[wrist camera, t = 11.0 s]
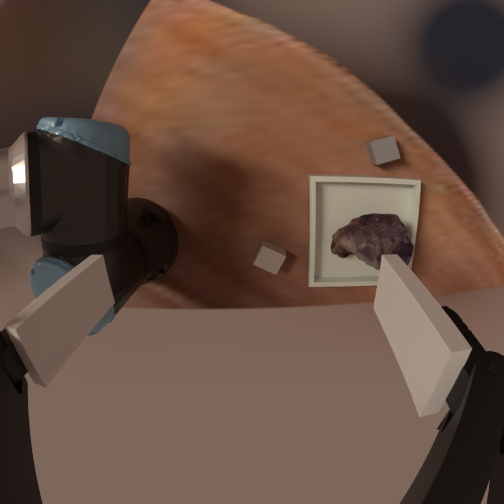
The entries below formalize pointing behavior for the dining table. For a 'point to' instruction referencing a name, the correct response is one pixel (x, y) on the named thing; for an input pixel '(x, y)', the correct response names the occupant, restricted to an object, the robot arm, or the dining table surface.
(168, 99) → the dining table surface
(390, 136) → the squat grey cube
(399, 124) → the dining table surface
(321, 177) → the dish
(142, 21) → the dining table surface
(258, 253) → the matte grey cube
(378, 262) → the rock
